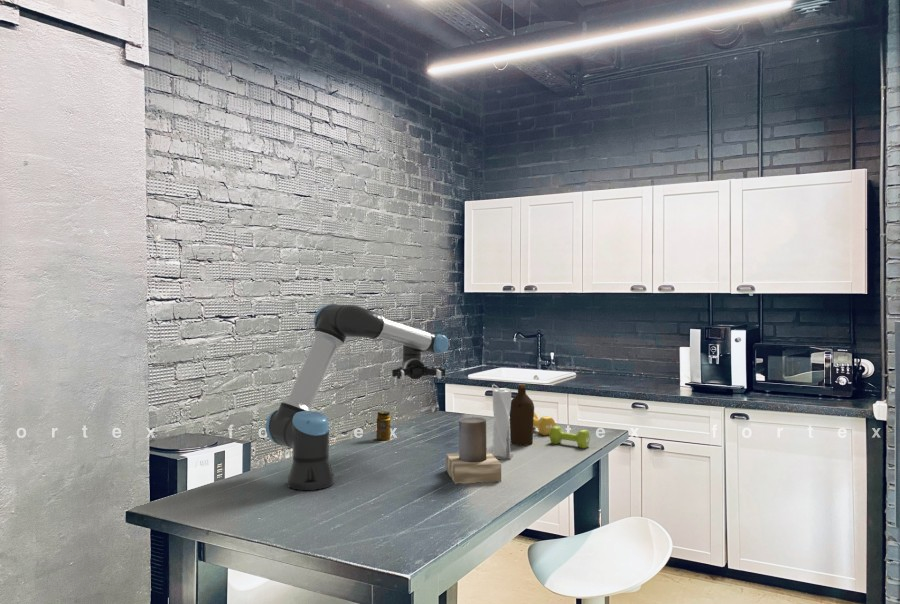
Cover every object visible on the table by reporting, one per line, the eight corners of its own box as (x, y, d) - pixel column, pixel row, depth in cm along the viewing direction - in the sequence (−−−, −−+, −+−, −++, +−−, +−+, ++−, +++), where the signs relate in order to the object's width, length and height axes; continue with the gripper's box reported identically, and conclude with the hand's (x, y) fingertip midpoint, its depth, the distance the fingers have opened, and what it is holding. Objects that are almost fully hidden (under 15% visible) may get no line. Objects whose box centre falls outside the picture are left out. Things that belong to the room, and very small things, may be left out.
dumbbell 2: (591, 446, 265) (591, 429, 265) (583, 450, 259) (583, 432, 259) (556, 440, 275) (556, 424, 275) (547, 444, 269) (547, 427, 269)
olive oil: (537, 445, 266) (538, 385, 266) (514, 446, 264) (514, 386, 263) (528, 439, 277) (528, 382, 276) (505, 440, 274) (505, 383, 274)
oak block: (501, 481, 215) (501, 463, 215) (454, 483, 212) (454, 465, 212) (489, 468, 231) (489, 452, 231) (446, 470, 228) (446, 453, 228)
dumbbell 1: (518, 428, 300) (518, 411, 300) (534, 426, 304) (534, 409, 304) (540, 436, 283) (540, 418, 283) (557, 434, 287) (557, 416, 287)
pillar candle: (490, 457, 224) (490, 414, 224) (480, 463, 215) (480, 419, 215) (465, 454, 228) (465, 412, 228) (454, 460, 219) (453, 417, 219)
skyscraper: (488, 457, 246) (489, 385, 245) (493, 452, 253) (493, 382, 253) (510, 459, 243) (510, 386, 243) (514, 454, 251) (514, 383, 251)
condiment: (394, 438, 278) (394, 411, 277) (384, 443, 270) (384, 414, 270) (379, 437, 280) (379, 410, 280) (369, 441, 273) (369, 413, 272)
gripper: (445, 377, 255) (455, 385, 235) (383, 378, 251) (387, 386, 230) (445, 359, 255) (455, 364, 234) (383, 359, 251) (387, 365, 230)
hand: (421, 375), depth 232 cm, fingers open, 13 cm apart
